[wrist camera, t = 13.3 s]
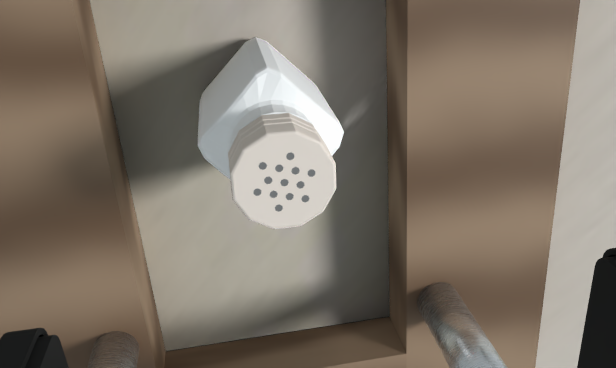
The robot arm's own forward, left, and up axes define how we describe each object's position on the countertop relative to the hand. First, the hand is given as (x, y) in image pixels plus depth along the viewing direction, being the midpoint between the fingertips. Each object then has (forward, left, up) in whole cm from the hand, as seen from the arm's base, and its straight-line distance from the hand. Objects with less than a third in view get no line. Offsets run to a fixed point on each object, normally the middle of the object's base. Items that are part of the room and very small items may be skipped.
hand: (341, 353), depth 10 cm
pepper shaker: (0, 0, -17) cm, 17 cm away
